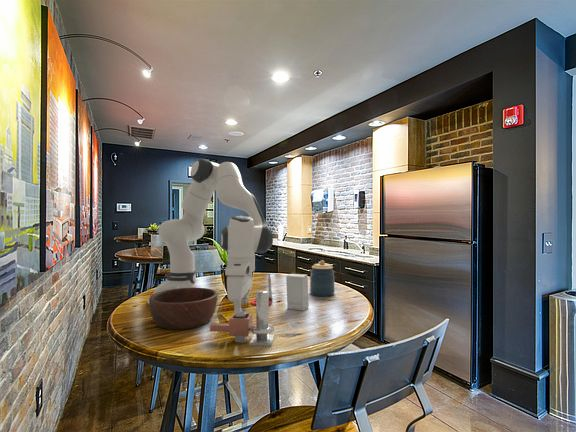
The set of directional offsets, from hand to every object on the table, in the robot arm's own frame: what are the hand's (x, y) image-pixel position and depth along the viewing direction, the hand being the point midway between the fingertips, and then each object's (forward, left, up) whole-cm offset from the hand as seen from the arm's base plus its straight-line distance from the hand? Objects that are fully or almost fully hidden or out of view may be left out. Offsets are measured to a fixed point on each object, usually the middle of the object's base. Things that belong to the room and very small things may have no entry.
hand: (241, 307), depth 101 cm
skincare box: (+17, +37, -11) cm, 42 cm away
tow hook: (0, +44, -11) cm, 45 cm away
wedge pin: (0, 0, -11) cm, 11 cm away
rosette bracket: (0, 0, -11) cm, 11 cm away
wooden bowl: (-26, +17, -11) cm, 33 cm away
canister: (+29, +64, -11) cm, 71 cm away
